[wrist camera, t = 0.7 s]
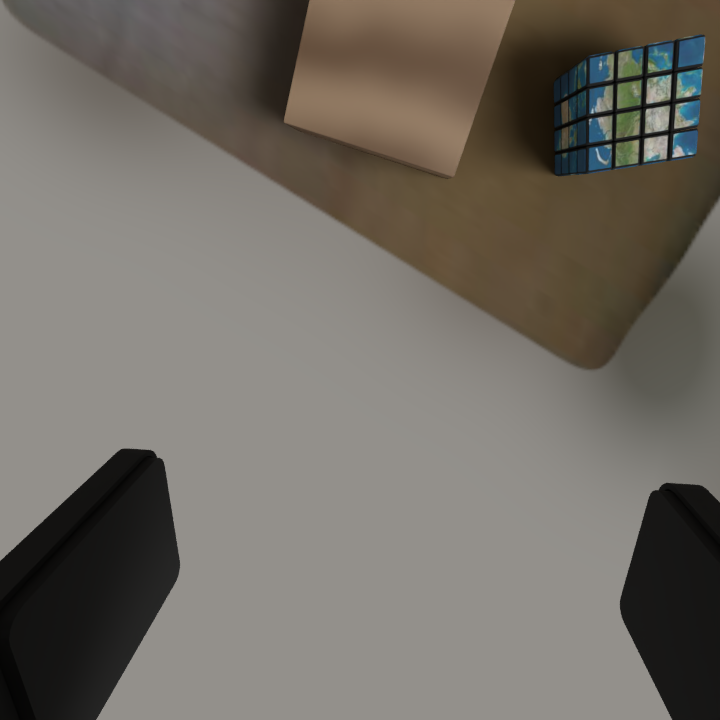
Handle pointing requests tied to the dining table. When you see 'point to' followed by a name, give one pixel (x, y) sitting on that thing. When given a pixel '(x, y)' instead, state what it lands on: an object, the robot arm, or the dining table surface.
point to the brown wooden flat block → (396, 76)
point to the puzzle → (629, 107)
